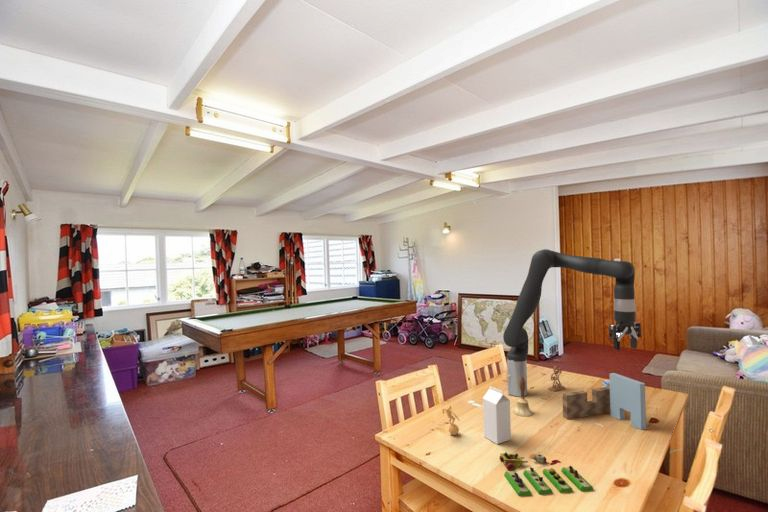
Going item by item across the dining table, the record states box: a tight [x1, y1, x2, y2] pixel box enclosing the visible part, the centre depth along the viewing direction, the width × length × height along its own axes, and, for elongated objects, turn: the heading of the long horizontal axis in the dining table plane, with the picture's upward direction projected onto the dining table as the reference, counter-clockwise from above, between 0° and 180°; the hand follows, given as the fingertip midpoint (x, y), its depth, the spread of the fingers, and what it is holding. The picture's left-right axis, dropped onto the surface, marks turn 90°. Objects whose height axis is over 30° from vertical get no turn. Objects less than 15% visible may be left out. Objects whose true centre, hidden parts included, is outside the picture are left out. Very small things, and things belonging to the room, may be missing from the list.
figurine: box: [441, 404, 460, 436], centre depth 145 cm, size 8×6×12 cm
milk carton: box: [482, 385, 512, 445], centre depth 141 cm, size 7×7×19 cm
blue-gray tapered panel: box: [609, 372, 647, 431], centre depth 152 cm, size 14×2×18 cm, turn 16°
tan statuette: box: [547, 365, 566, 393], centre depth 190 cm, size 9×4×12 cm, turn 120°
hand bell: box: [512, 376, 534, 417], centre depth 163 cm, size 8×8×16 cm
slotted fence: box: [562, 387, 611, 420], centre depth 160 cm, size 26×2×10 cm, turn 105°
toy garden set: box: [498, 451, 594, 497], centre depth 118 cm, size 23×19×5 cm
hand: (625, 348), depth 152 cm, fingers open, 8 cm apart
